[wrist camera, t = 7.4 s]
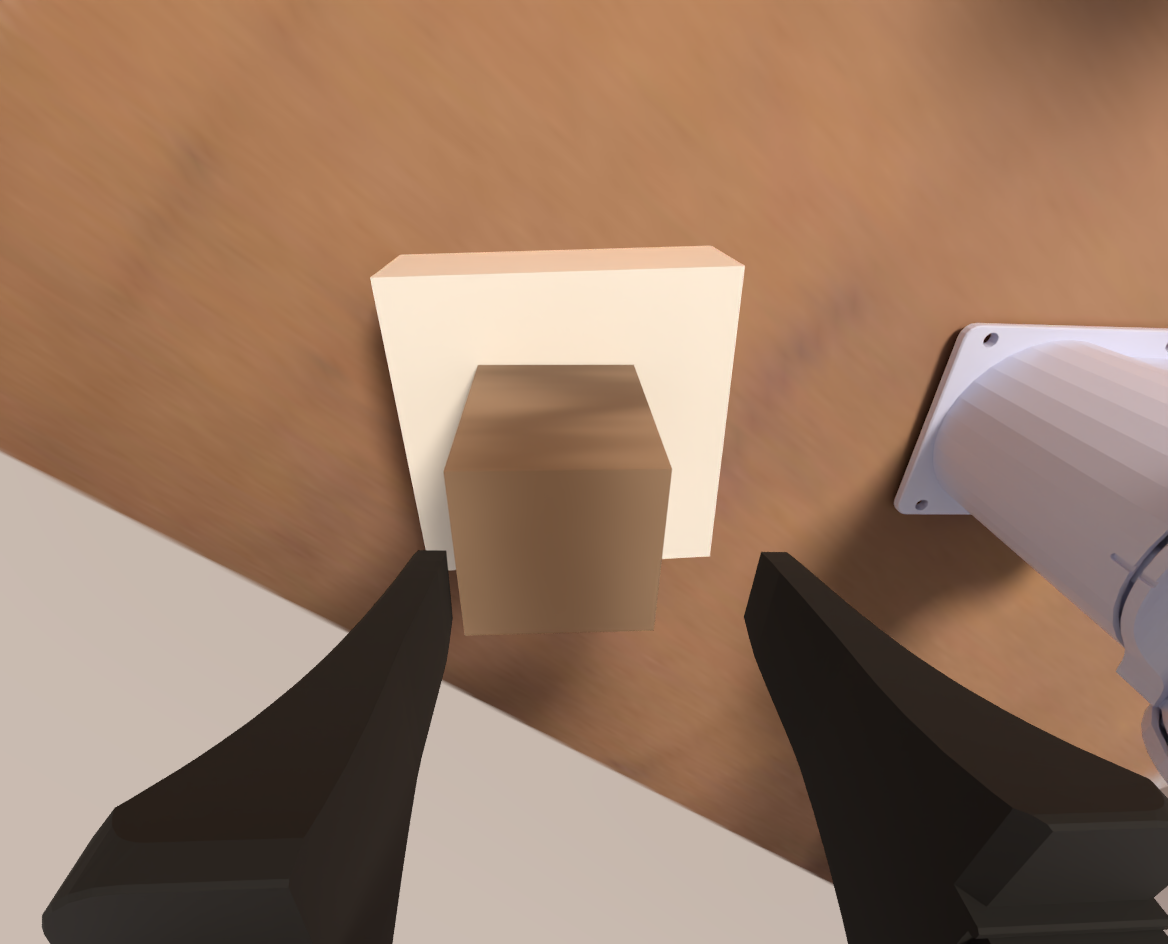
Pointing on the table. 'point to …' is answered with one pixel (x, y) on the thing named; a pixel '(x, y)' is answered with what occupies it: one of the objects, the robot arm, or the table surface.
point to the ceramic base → (566, 353)
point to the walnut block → (557, 501)
